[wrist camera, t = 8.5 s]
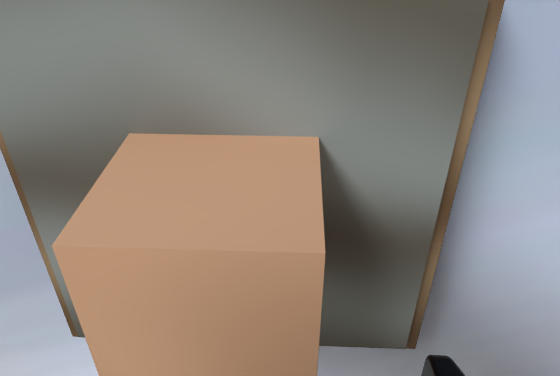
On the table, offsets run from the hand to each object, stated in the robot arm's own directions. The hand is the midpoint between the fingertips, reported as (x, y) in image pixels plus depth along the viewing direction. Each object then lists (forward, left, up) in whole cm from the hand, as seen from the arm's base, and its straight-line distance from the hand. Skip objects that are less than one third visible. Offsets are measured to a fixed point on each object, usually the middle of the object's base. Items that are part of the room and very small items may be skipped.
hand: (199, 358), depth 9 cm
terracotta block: (0, 0, -5) cm, 5 cm away
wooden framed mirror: (0, 0, -8) cm, 8 cm away
